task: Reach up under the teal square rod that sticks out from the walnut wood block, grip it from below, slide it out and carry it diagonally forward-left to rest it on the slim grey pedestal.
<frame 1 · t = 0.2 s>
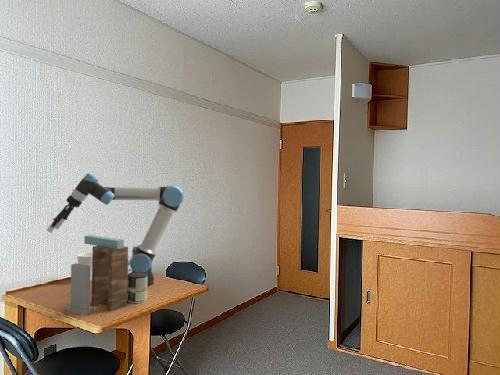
hand: (52, 229, 205), 35 cm above the table, tool tilted 35°, fingers open, 13 cm apart
decorative fruit: (128, 292, 212), on the table
coffee can: (137, 300, 199), on the table
walnut wood block: (109, 305, 189), on the table
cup: (86, 280, 234), on the table
pedestal: (79, 310, 182), on the table
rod: (103, 245, 191), point 30 cm above the table, touching walnut wood block
light bulb box: (123, 272, 255), on the table
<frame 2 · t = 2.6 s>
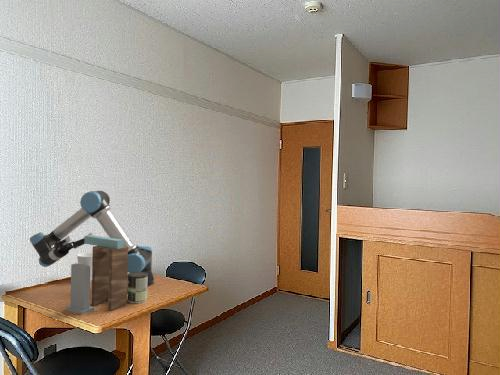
hand: (81, 236, 202), 33 cm above the table, tool pointing upward, fingers open, 13 cm apart
nothing on the table moved.
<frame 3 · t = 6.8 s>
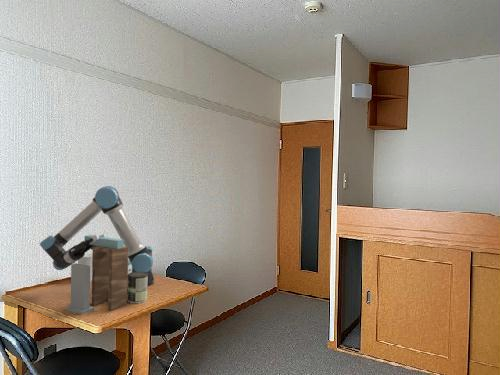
hand: (101, 236, 192), 35 cm above the table, tool pointing upward, fingers closed on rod, 4 cm apart
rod: (103, 245, 191), point 30 cm above the table, touching walnut wood block, gripper
everything else where it was.
when the fingers open (28 cm above the table, at t = 12.4 s): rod stays where it is, resting on pedestal.
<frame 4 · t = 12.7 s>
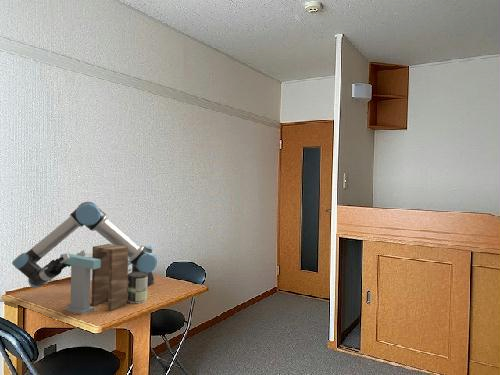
hand: (76, 253, 182), 27 cm above the table, tool pointing upward, fingers open, 9 cm apart
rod: (79, 265, 181), point 22 cm above the table, touching pedestal
everything else where it was.
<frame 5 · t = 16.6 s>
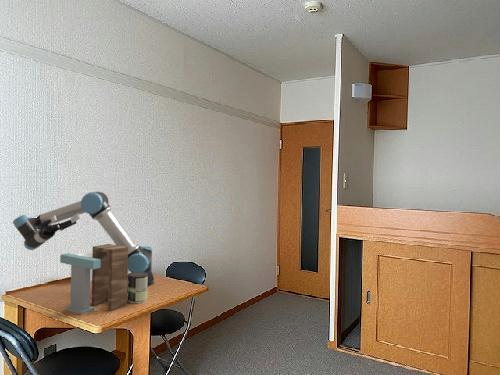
hand: (67, 216, 196), 44 cm above the table, tool pointing upward, fingers open, 13 cm apart
nothing on the table moved.
at the end: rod inside the target area (0.1 cm from its centre), point 22.0 cm above the table; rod touching pedestal; the gripper is holding nothing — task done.
